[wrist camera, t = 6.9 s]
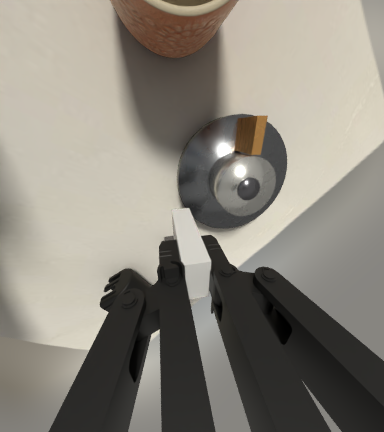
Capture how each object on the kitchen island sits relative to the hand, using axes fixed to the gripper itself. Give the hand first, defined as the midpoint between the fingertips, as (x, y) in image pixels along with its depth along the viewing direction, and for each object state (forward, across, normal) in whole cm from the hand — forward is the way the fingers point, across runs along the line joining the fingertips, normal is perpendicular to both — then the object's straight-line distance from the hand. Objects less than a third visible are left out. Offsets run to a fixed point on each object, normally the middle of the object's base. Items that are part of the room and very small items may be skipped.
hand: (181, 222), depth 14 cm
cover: (+12, +10, 0) cm, 15 cm away
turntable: (+14, +10, 0) cm, 17 cm away
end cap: (+14, -9, -22) cm, 28 cm away
